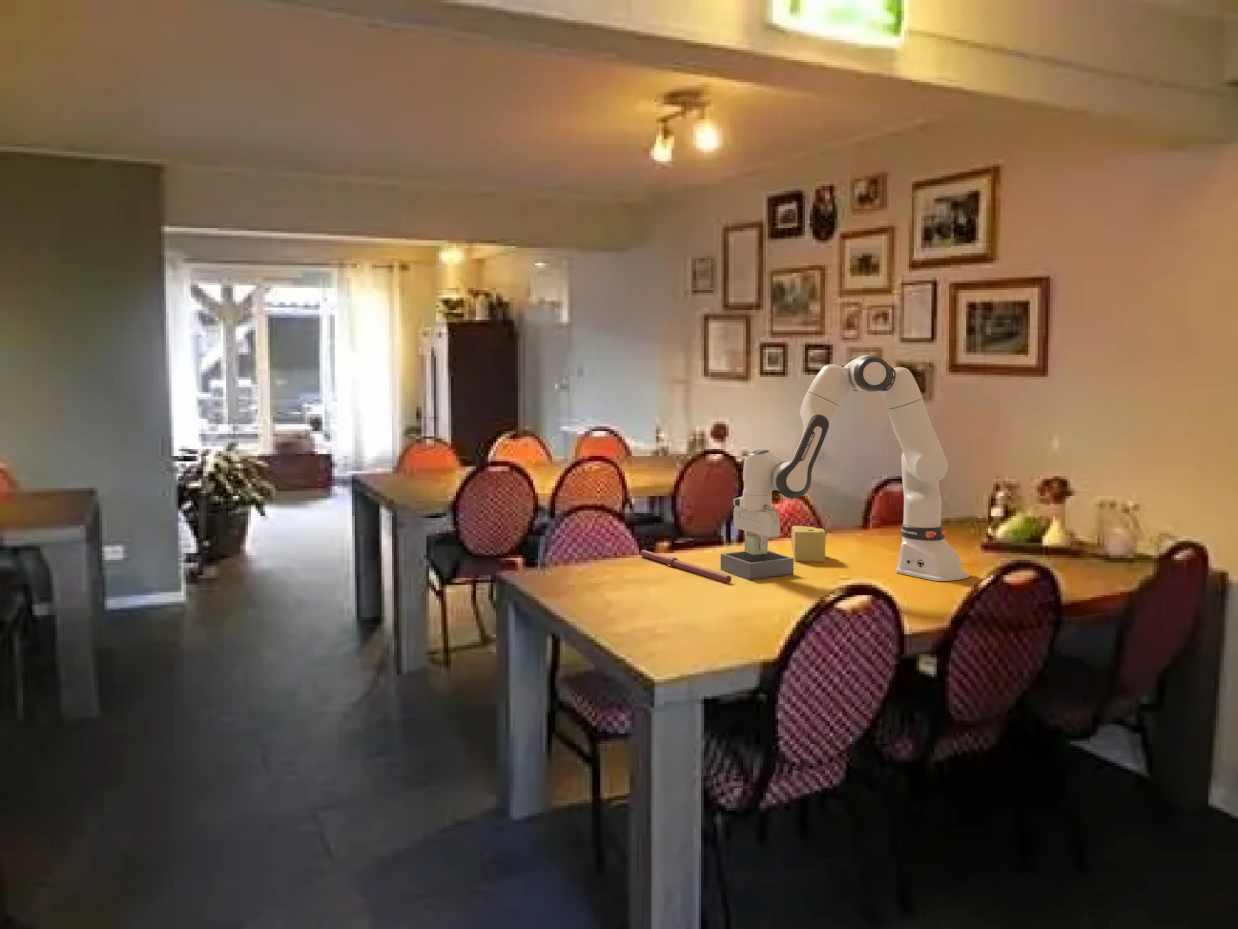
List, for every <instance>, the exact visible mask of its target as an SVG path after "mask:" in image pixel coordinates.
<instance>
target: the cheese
mask: <svg viewBox="0 0 1238 929" xmlns="http://www.w3.org/2000/svg"><path fill="white" fill-rule="evenodd" d="M790 538H791V548H792V549H791V550H792V558H794V561H795V562H811V563H813V562H815V563H816V562H817V563H818V562H819V563H821V562H823V563H824V562H825V561H826V531H825V529H824V528H817V527H813V526H805V525H804V526H802V525H793V526H792V527H791V535H790Z"/></svg>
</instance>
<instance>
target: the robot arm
mask: <svg viewBox="0 0 1238 929" xmlns="http://www.w3.org/2000/svg"><path fill="white" fill-rule="evenodd" d="M852 391H854V392H859V393H870V392H878V393H879V394H880V395H881V397H882V399H883V401H884V406H885V408H886V412H887V415H888V417H889V421H890V424H891V427H892V429H893V433H894V435H895V437H896V439H897V441H898V443H899V445H900V448H901V451H902V453H901V457H900V458H901V460H900V461H901V462H900V463H901V479H902V480H901V481H902V482H901V483H902V491H903V519H902V520H903V522H902V524H901V529H900V530H901V536H902V538H901V539H902V540H901V545H900V548H899V549H900V550H899V556H898V561H897V562H898V563H897V566H896V569H895V573H896V574H901V575H905V576H906V575H907V576H909V577H910V576H911V577H915V578H920V579H924V580H930V581H935V582H950V581H957V580H964V579H967V578H969V577H970V572H967V571H964V570H962V568H963V567H962V560H961V556H960V554H959V553H958V552H957V551H956V550H955V549H954V548H953V547H952V546H951V545H950V544H949V542H948V541H947V540H946V539H945V538H946V537H945V535H948V533H947V532H948V530H943V526H942V523H941V522H942V518H941V517H942V496H941V492H940V483H939V481H941V480H943V479H944V478H945V476H946V475H947V473H948V470H949V463H948V459H947V457H946V455H945V451H944V449H943V447H942V445H941V442H940V440H939V438H938V436H937V433H936V431H935V429H934V427H933V425H932V422H931V419H930V417H929V413H928V410H927V408H926V405H925V402H924V399H923V395H922V392H921V390H920V387H919V385H918V383H917V380H916V379H915V377H914V375H913V373H912V372H911V371H910V370H909V369H908V368H907V367H901V366H897V367H892V366H891V365H890V363H888V362H887V361H886V360H884V359H883V358H882V357H880V356H877V355H868V354H867V355H866V354H865V355H864V354H863V355H860V356H857V357H854V358H851V359H850V360H848V362H846V363H844V364H843V365H841V366H840V365H838V364H832V363H831V364H825V365H824V366H822V368H821V369H820V370H819V372H817V375H816V376H815V377H814V378H813V380H812V382H811V384H810V386H809V387H808V389H807V391H806V392H805V395H804V398H803V400H802V403H801V406H800V409H799V416H800V418H801V422H802V427H803V430H802V435H801V438H800V440H799V443H798V445H797V448H796V450H795V452H794V455H793V457H792V459H791V460H789V459H788V460H787V459H785V458H782V457H780V456H777V455H776V454H774V453H773V452H771V451H770V449H769V450H768V449H757V450H753V451H750V452H748V453H747V454H746V455H745V458H744V461H743V469H742V470H743V472H742V481H743V490H742V496H739V497H736V498H733V499H732V500H733V503H732V504H733V506H734V508H733V525H734V527H735V529H738V530H742V531H744V537H745V536H748V535H753V534H754V535H761V539H762V540H761V543H759V549H761V550H765V549H766V544H767V542H768V543H769V539H776V538H779V537H780V535H781V522H780V515H779V512H778V511H777V509H776V507H775V506H772V505H773V504H772V503H773V500H772V499H773V495H772V494H773V491H778V492H779V493H780V494H781V495H782V496H783V497H785V498H786V499H787V498H788V499H792V500H793V499H795V500H796V499H799V498H801V497H803V496H805V495H806V494H807V493H808V492H809V490H810V488H811V484H812V472H813V468H814V465H815V463H816V459H817V457H818V455H819V453H820V451H821V448H822V446H823V444H824V442H825V438H826V436H827V434H828V432H829V430H830V428H831V426H832V424H833V422H834V420H835V418H836V417H837V414H838V413H839V411H840V409H841V407H842V405H843V402H844V400H845V398H846V397H847V396H848V395H849V393H850V392H852Z"/></svg>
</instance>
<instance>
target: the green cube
mask: <svg viewBox="0 0 1238 929" xmlns="http://www.w3.org/2000/svg"><path fill="white" fill-rule="evenodd" d="M761 540H762V539H761V535H758V534H752V535H748V536H745V535H744V551H745V552H747V553H750V554H753V555H757V554H766V553H767V550H768V548H769V547H768V543H769V541H768V542H767V544H766V549H765V550H761V549H759V543H761Z"/></svg>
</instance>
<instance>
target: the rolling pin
mask: <svg viewBox="0 0 1238 929" xmlns="http://www.w3.org/2000/svg"><path fill="white" fill-rule="evenodd" d="M639 555H640V556H641V557H643V558H646V559H649V558H650V559H649V560H652V559H654V560H653V561H655V560H657V561H656V562H658V561H659V562H658V563H661V562H662V564H665V565H667V566H668V565H670V566H675V567H674V568H677V569H681V570H684V571H687V572H691V573H694V574H697V575H700V576H703V577H707V578H711V579H713V580H716V581H720V582H722V583H726V584H731V582H732V576H731V575H728V574H725V573H722V572H718V571H714V570H712V569H709V568H705V567H702V566H700V565H699V566H698V565H695V564H693V563H692V564H691V563H689V562H686V561H682V560H679V559H678V558H677V557H674V556H665V555H662V554H659V553H656V552H652V551H648V550H645V549H643V550H640V554H639ZM670 566H669V567H670Z"/></svg>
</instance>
